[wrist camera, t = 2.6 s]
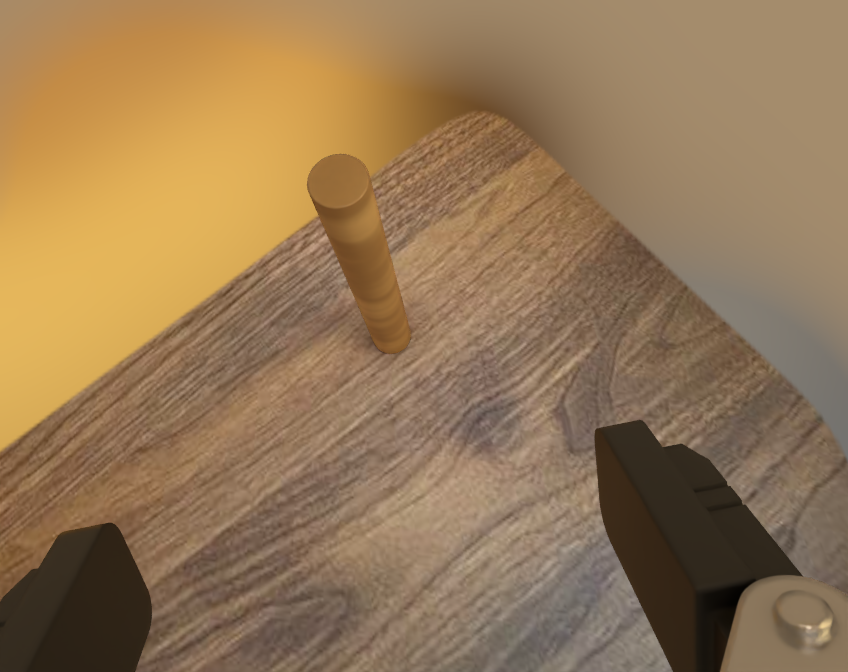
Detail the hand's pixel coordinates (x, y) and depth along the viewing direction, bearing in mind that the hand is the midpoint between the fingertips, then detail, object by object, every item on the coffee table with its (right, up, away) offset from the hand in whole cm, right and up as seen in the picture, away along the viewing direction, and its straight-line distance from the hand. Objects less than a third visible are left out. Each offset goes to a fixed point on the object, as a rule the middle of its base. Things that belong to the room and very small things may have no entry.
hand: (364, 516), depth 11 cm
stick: (-1, +3, +24) cm, 24 cm away
